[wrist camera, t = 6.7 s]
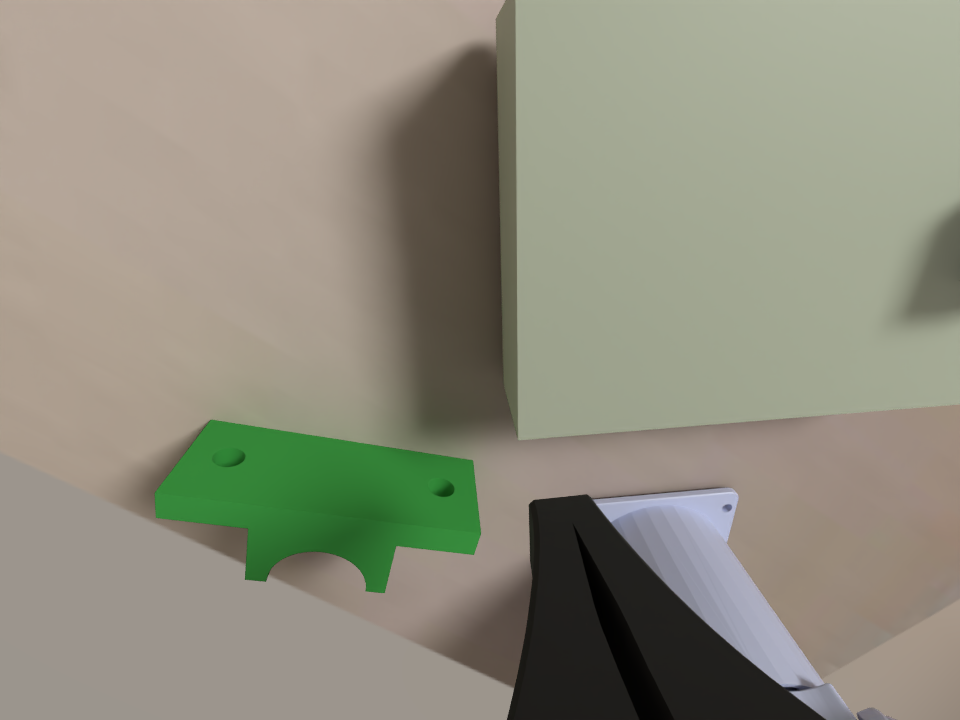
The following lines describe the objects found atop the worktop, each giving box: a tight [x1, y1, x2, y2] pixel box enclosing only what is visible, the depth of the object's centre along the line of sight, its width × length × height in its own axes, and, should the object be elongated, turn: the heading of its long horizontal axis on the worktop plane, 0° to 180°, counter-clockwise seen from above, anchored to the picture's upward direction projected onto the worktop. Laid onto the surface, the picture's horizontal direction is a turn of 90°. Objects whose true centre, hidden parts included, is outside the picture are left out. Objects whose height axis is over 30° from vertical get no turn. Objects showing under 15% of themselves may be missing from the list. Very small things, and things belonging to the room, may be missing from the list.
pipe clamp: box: [155, 420, 481, 593], centre depth 19 cm, size 11×4×5 cm, turn 76°
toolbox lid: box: [496, 0, 960, 440], centre depth 14 cm, size 12×18×6 cm, turn 92°
